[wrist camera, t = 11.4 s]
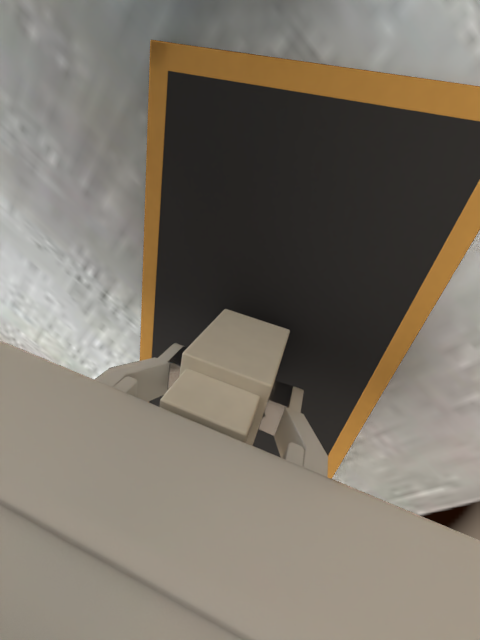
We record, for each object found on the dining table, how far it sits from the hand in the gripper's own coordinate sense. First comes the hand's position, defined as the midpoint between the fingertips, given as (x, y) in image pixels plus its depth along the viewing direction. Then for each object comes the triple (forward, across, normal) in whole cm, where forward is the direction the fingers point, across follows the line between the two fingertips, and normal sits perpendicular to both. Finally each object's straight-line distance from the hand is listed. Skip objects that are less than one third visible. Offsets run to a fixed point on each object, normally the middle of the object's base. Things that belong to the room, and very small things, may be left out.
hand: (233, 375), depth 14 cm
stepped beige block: (+3, 0, 0) cm, 3 cm away
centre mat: (+4, 0, 0) cm, 4 cm away
